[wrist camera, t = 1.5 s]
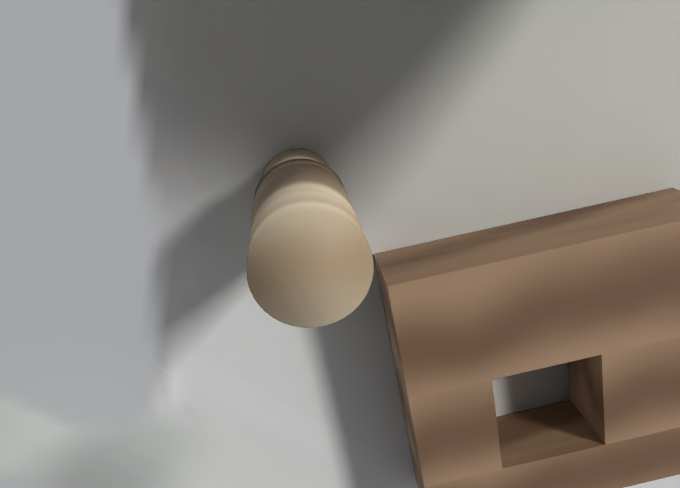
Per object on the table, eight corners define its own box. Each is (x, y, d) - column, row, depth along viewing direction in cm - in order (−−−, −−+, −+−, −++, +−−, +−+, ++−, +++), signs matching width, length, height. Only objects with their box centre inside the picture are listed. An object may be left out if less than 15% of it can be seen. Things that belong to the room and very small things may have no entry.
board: (373, 254, 31) (387, 286, 27) (672, 187, 31) (727, 210, 28) (416, 479, 36) (432, 532, 33) (671, 420, 37) (716, 465, 33)
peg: (246, 152, 28) (231, 226, 18) (329, 134, 29) (361, 197, 18) (267, 230, 30) (263, 339, 20) (345, 213, 30) (383, 312, 20)
